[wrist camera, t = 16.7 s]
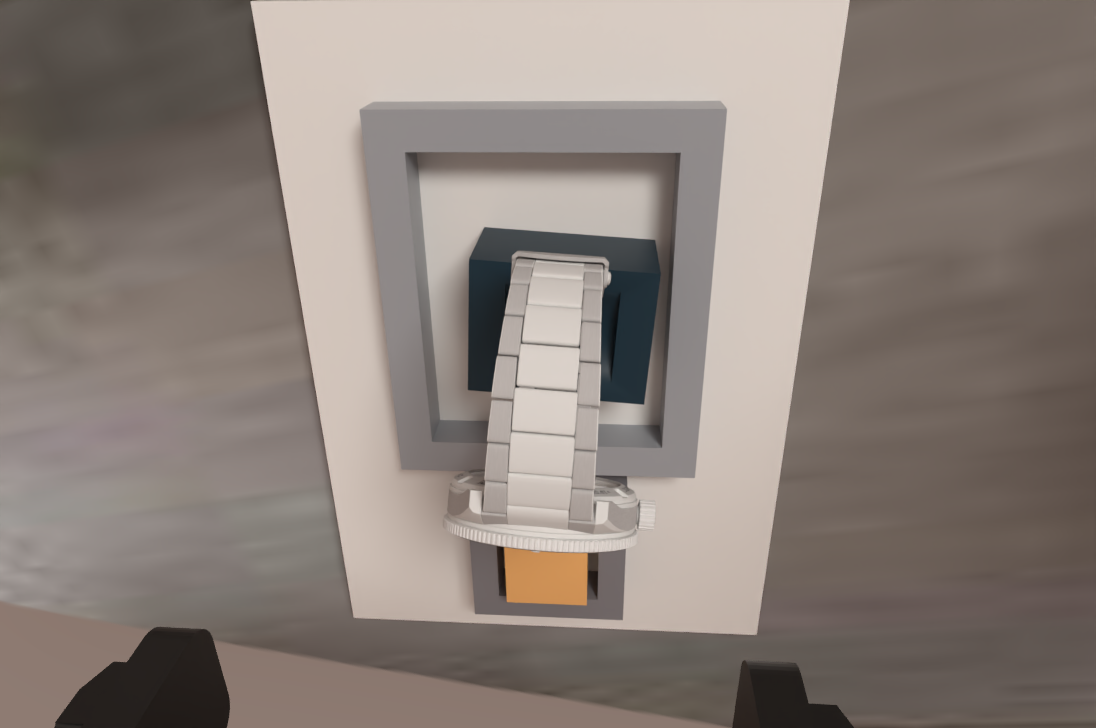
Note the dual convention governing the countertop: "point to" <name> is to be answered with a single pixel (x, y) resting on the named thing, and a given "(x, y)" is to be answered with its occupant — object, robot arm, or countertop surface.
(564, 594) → the button
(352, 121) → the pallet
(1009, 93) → the countertop surface
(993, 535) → the countertop surface
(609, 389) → the watch
